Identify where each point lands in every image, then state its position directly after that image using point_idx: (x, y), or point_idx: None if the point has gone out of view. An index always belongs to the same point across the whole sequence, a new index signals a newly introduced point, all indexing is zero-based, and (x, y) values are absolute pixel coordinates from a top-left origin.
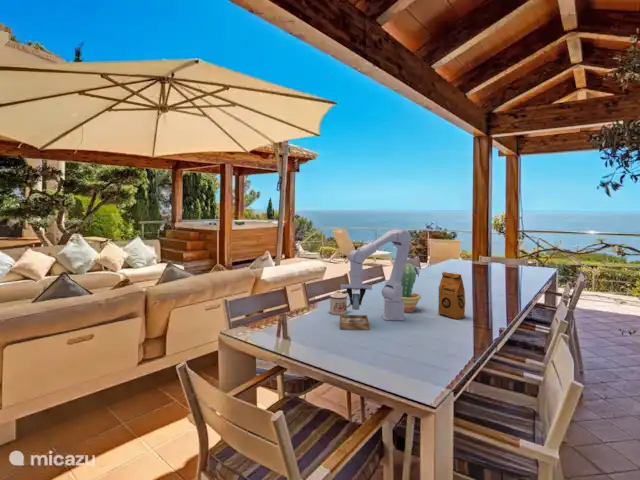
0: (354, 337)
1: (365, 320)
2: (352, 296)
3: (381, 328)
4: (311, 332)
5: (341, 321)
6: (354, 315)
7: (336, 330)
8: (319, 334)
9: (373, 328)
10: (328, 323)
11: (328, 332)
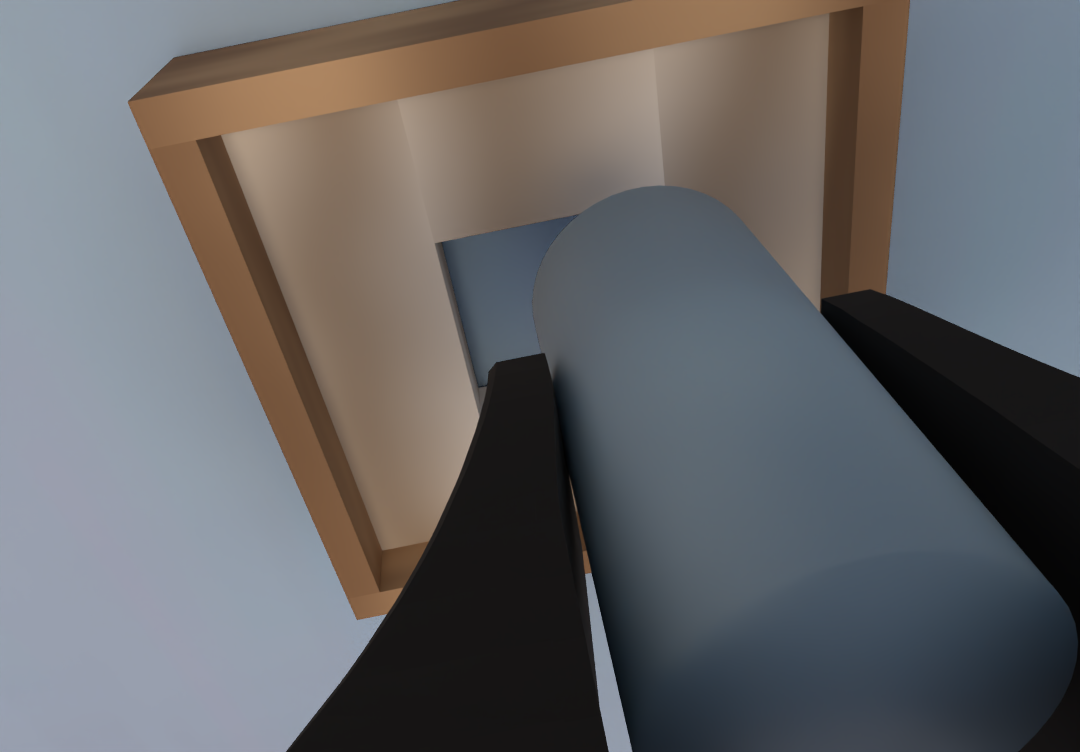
0: (618, 705)
1: (814, 163)
2: (616, 672)
3: (1037, 323)
4: (21, 723)
5: (360, 558)
6: (555, 66)
7: (328, 581)
8: (166, 743)
9: None
10: (18, 312)
11: (247, 667)
